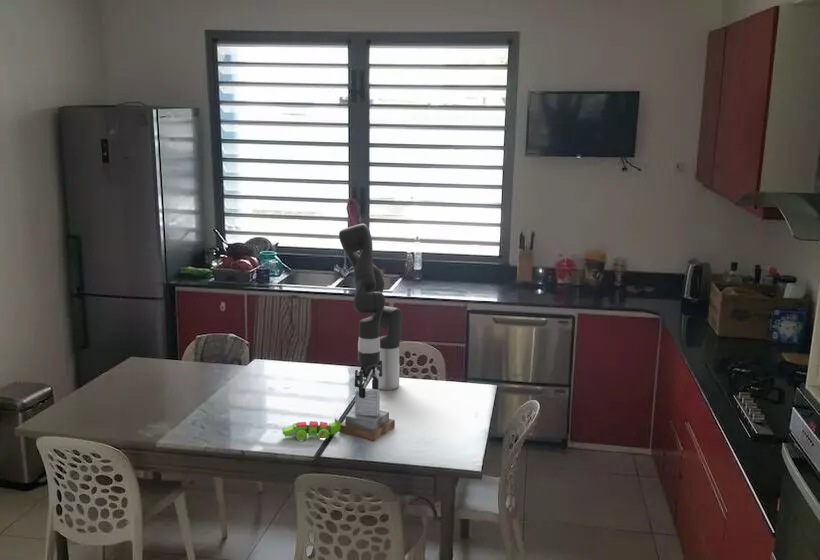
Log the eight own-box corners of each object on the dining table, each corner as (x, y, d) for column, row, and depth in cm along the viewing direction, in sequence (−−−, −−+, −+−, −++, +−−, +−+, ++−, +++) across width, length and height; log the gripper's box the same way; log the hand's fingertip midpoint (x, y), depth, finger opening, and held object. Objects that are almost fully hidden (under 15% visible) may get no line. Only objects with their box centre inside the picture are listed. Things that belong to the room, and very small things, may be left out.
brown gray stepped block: (361, 419, 278) (361, 403, 277) (394, 427, 271) (394, 411, 270) (339, 432, 266) (339, 416, 265) (373, 441, 259) (373, 425, 258)
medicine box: (379, 412, 269) (380, 389, 267) (377, 417, 265) (377, 393, 263) (357, 410, 270) (357, 387, 269) (354, 415, 266) (355, 391, 264)
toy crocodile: (281, 442, 258) (281, 425, 257) (282, 434, 264) (282, 417, 263) (340, 440, 260) (341, 423, 259) (340, 432, 267) (340, 416, 265)
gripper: (370, 342, 270) (370, 385, 274) (348, 352, 258) (348, 398, 262) (389, 345, 267) (388, 389, 270) (367, 356, 255) (367, 402, 258)
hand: (368, 393), depth 266 cm, fingers open, 8 cm apart
